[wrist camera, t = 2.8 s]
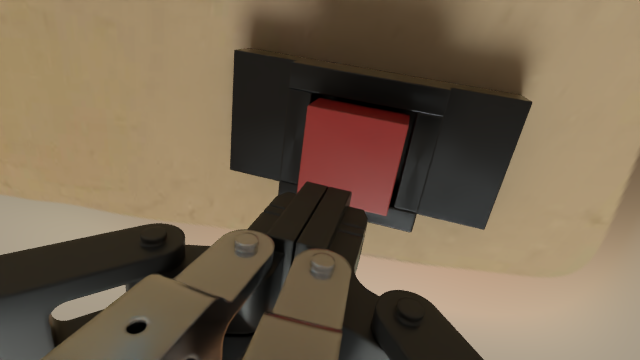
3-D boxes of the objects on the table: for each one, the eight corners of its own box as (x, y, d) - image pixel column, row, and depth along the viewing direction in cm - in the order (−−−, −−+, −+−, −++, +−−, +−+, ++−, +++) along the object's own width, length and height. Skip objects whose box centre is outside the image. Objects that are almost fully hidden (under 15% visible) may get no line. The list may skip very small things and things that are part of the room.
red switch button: (307, 179, 19) (296, 194, 18) (318, 97, 18) (307, 104, 16) (389, 198, 19) (386, 216, 17) (410, 114, 17) (408, 125, 15)
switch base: (243, 161, 24) (213, 184, 21) (250, 45, 21) (215, 48, 18) (478, 215, 22) (489, 252, 18) (523, 92, 19) (547, 107, 15)
